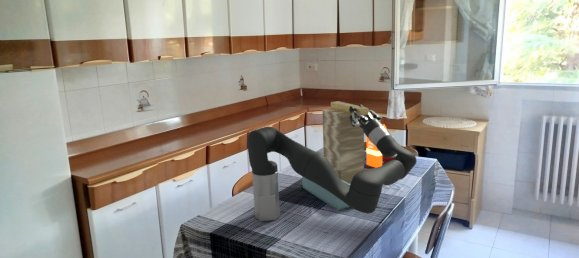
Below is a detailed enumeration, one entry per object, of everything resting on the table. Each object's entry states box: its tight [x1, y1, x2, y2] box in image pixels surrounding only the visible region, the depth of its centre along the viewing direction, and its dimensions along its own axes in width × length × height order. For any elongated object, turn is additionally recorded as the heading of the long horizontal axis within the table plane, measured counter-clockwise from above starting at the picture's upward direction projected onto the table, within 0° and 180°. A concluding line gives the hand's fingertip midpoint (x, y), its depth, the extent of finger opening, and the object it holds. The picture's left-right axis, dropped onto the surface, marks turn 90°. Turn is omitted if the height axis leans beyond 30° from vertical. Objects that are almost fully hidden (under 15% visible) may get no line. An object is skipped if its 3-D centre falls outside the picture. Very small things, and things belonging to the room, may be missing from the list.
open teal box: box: [301, 176, 351, 211], centre depth 169 cm, size 28×11×6 cm, turn 26°
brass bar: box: [330, 100, 370, 116], centre depth 174 cm, size 22×4×3 cm, turn 26°
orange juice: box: [365, 123, 388, 168], centre depth 204 cm, size 8×9×20 cm
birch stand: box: [322, 108, 365, 184], centre depth 182 cm, size 14×12×32 cm
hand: (355, 106), depth 170 cm, fingers closed on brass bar, 4 cm apart
